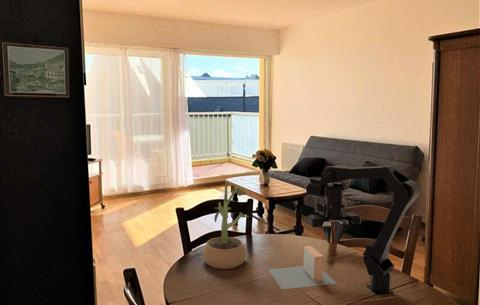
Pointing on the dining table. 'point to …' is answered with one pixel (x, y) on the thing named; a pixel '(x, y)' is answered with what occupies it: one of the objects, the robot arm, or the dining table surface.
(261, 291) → the dining table surface
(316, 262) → the tile
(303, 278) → the mat
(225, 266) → the potted plant
